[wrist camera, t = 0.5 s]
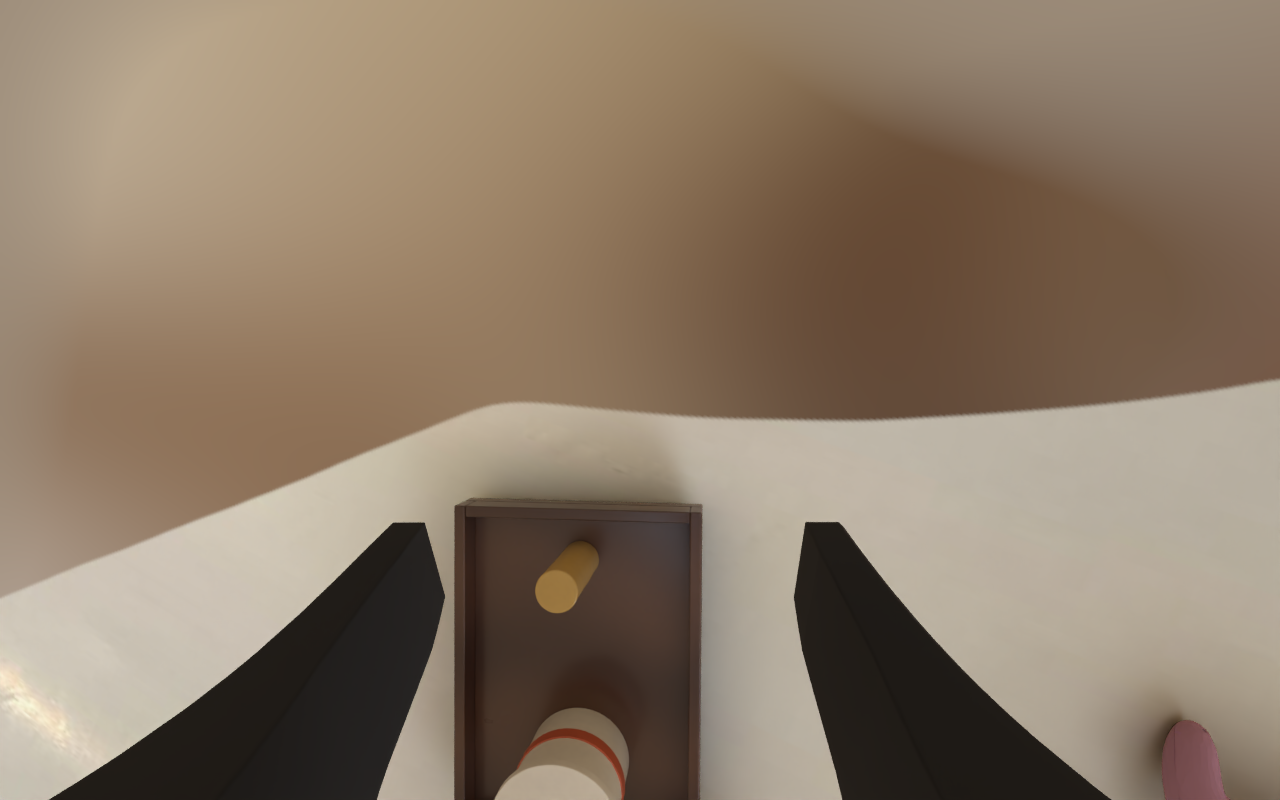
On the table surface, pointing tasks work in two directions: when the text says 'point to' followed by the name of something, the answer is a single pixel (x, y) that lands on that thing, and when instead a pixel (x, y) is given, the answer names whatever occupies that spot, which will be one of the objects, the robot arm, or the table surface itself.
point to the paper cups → (571, 760)
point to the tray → (578, 635)
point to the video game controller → (1191, 764)
